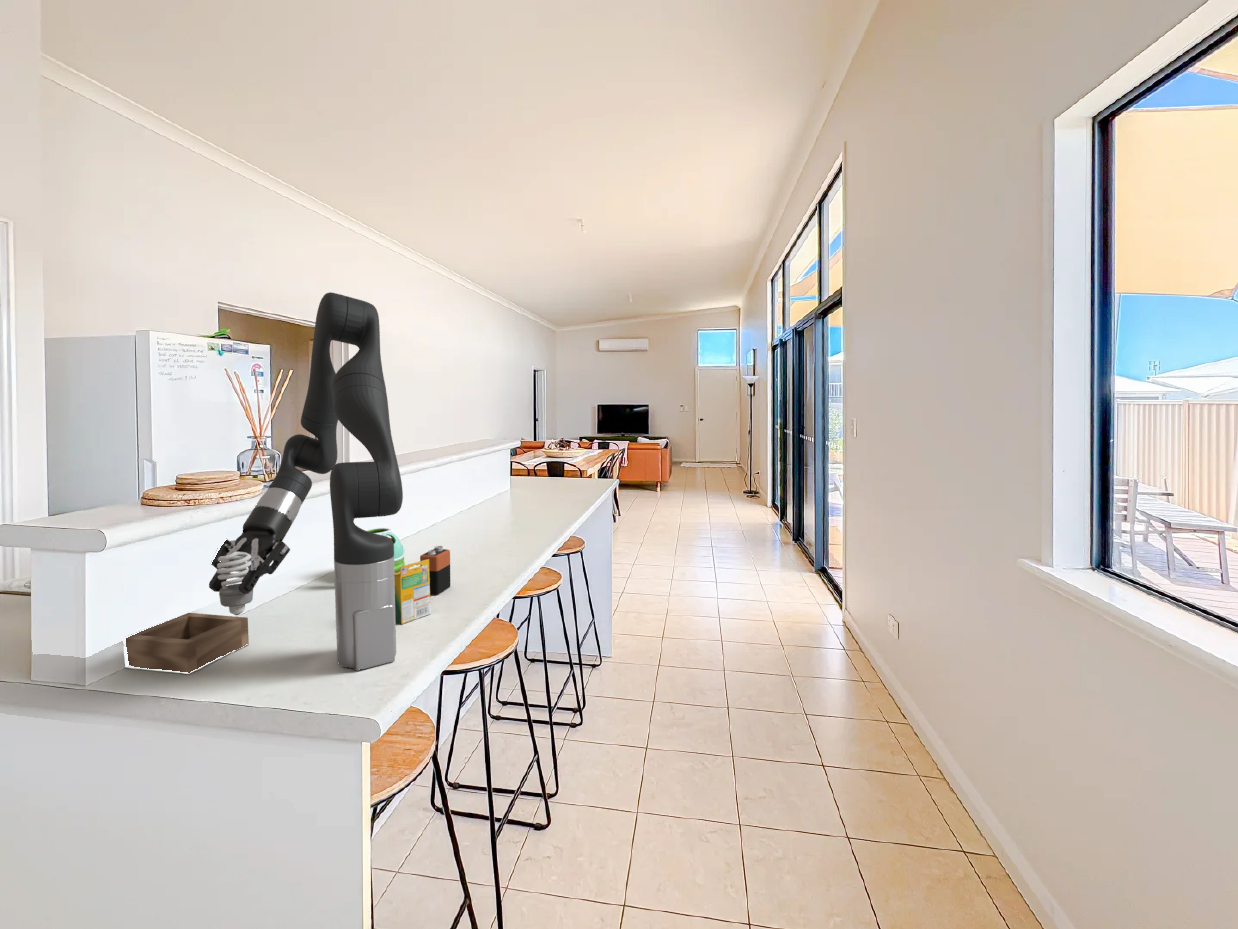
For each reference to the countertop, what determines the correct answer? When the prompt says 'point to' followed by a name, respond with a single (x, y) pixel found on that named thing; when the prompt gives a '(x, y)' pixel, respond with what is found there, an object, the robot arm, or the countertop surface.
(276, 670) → the countertop surface
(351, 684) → the countertop surface
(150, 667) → the square brown bulb holder
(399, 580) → the crayon box
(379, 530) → the turtle holder
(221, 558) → the light bulb
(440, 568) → the battery
